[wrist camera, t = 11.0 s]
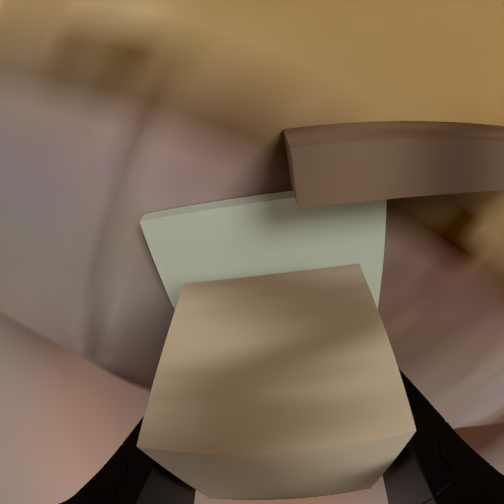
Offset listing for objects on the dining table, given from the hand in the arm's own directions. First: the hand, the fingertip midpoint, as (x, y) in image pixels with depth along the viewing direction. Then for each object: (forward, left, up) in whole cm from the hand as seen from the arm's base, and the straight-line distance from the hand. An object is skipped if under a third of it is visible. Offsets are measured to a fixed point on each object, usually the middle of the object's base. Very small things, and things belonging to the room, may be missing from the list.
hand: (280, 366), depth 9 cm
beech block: (0, 0, -1) cm, 1 cm away
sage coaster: (0, 0, -4) cm, 4 cm away
